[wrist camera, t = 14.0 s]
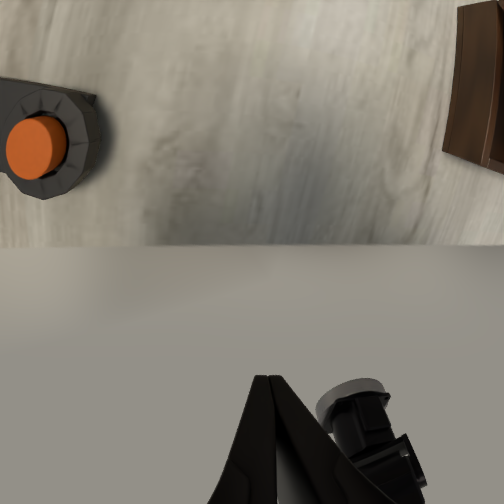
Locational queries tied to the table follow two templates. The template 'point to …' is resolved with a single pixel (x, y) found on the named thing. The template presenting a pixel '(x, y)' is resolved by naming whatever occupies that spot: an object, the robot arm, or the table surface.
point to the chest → (478, 87)
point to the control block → (72, 120)
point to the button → (36, 146)
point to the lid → (501, 3)
